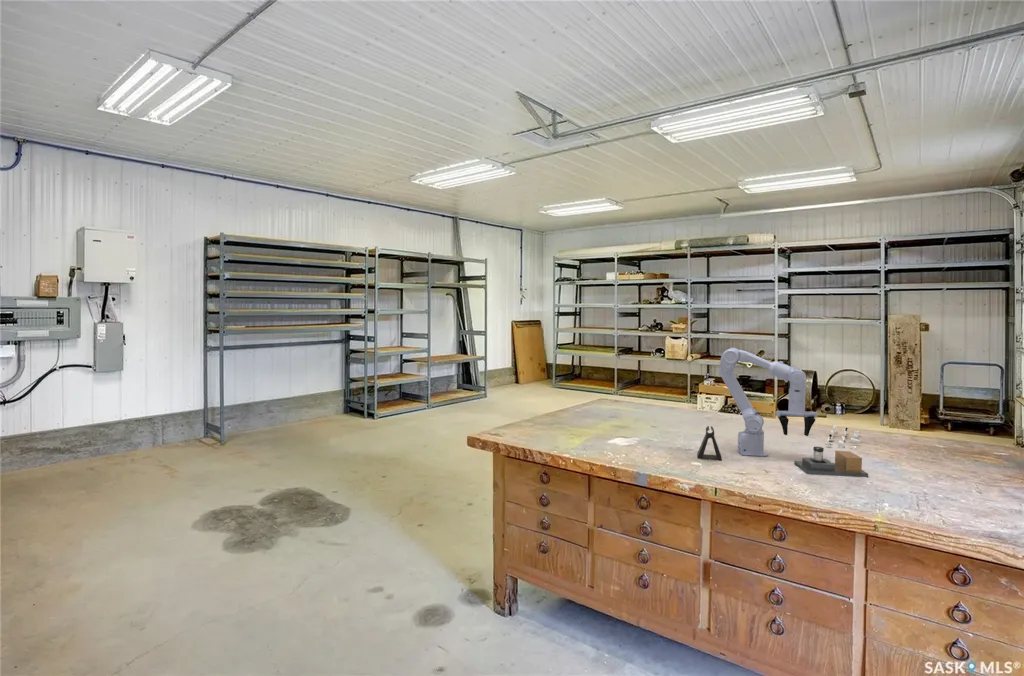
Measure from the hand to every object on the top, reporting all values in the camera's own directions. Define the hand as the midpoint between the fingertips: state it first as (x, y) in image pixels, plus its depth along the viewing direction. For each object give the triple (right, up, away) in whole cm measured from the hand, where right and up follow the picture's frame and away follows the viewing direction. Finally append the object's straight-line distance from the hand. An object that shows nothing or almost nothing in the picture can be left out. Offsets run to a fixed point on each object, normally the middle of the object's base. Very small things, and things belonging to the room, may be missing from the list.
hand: (795, 435), depth 206 cm
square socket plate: (+5, -10, -14) cm, 18 cm away
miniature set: (+37, -9, +29) cm, 48 cm away
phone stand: (-33, -10, +2) cm, 35 cm away
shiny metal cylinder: (+1, -9, -14) cm, 17 cm away
